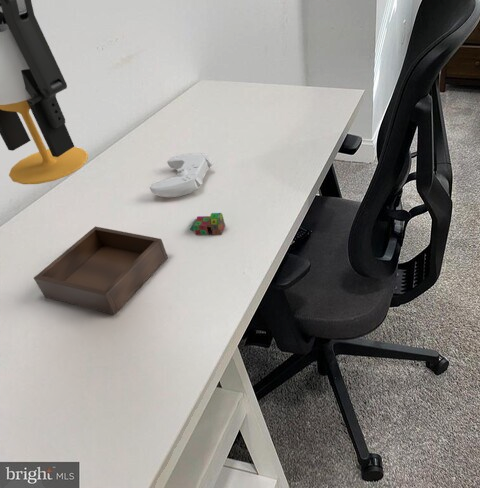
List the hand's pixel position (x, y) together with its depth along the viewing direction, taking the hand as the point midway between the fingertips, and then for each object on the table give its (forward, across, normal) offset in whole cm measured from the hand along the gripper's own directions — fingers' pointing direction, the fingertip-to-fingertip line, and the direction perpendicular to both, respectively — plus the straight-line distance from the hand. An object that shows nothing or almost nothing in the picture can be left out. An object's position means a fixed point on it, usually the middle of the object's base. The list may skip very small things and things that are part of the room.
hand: (41, 147), depth 58 cm
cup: (+3, 0, 0) cm, 3 cm away
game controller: (+26, +8, -33) cm, 43 cm away
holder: (+25, +4, -4) cm, 26 cm away
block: (+26, -5, -20) cm, 33 cm away
